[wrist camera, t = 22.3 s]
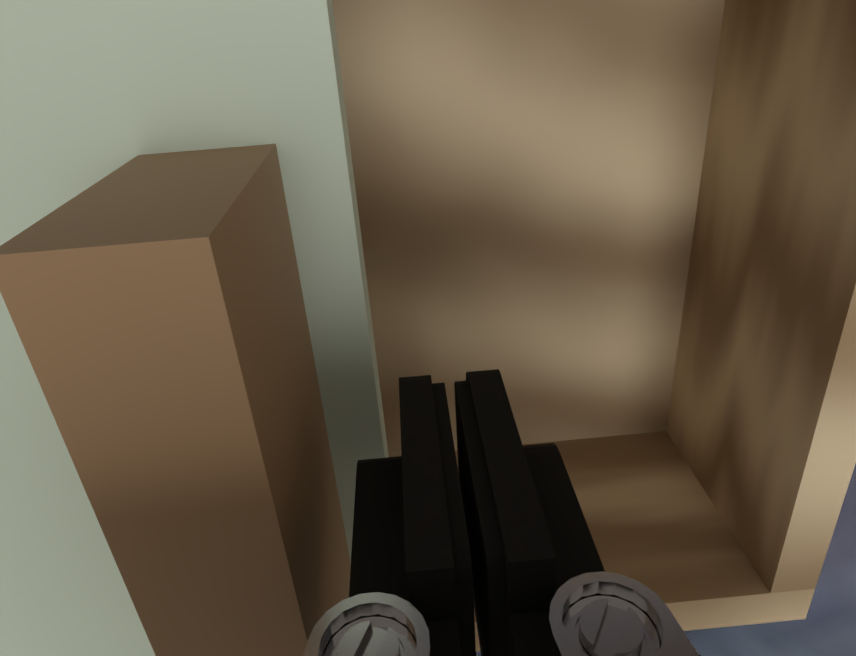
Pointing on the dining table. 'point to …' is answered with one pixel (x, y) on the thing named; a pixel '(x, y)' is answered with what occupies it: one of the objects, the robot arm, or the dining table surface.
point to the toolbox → (629, 262)
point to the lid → (178, 328)
